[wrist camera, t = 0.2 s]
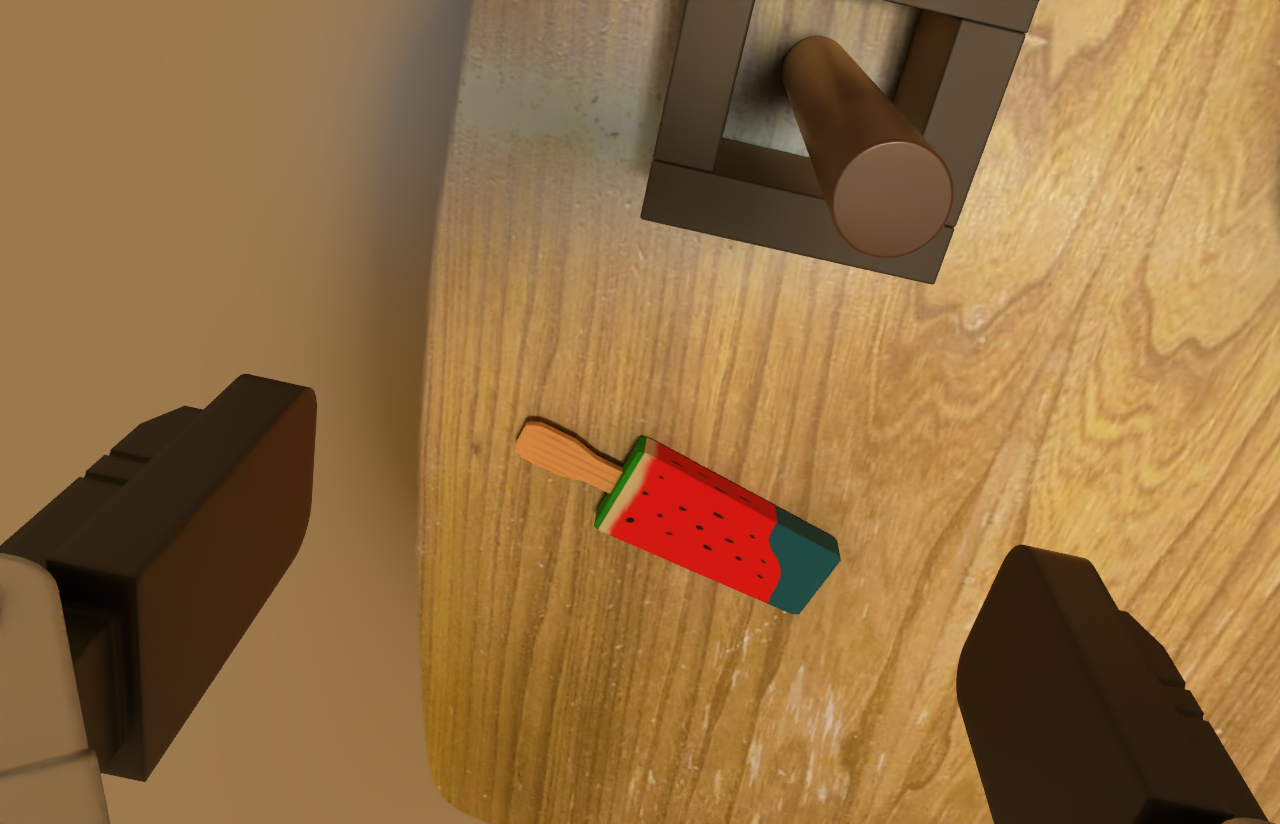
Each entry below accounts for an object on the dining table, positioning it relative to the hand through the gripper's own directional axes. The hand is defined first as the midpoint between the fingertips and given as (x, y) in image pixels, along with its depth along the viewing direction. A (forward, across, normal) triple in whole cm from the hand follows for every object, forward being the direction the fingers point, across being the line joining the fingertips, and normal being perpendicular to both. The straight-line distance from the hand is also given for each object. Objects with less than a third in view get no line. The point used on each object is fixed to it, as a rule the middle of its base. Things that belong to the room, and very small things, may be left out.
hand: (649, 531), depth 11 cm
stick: (+28, -4, -2) cm, 28 cm away
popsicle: (+28, -3, +17) cm, 33 cm away
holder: (+28, -4, -2) cm, 28 cm away
